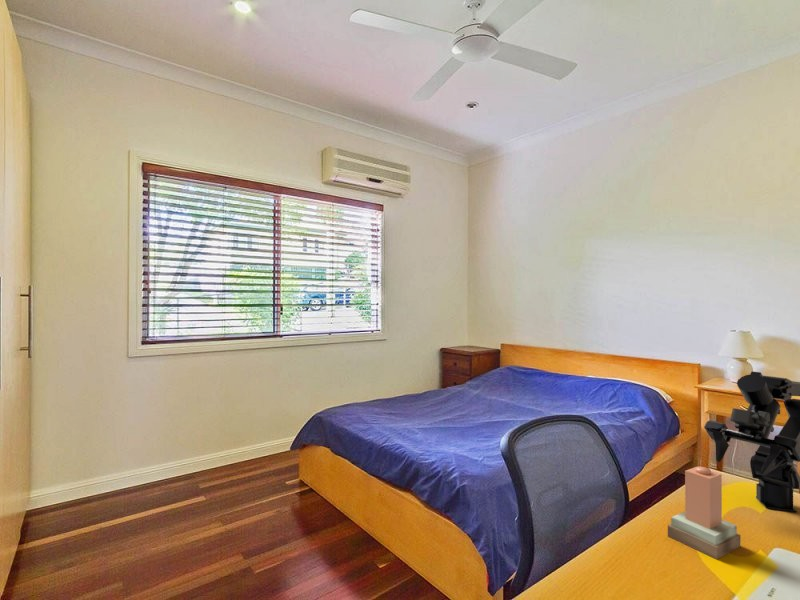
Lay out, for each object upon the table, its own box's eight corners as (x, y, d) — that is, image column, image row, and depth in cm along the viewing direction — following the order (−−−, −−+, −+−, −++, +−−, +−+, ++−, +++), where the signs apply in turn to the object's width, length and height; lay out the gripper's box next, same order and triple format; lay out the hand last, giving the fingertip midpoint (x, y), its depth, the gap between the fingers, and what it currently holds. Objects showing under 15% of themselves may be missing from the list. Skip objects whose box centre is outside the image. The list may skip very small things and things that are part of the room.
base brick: (691, 525, 102) (691, 506, 102) (740, 546, 93) (740, 525, 93) (667, 536, 97) (667, 516, 97) (716, 559, 88) (716, 537, 88)
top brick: (697, 513, 99) (697, 463, 99) (721, 523, 94) (721, 470, 94) (685, 518, 96) (685, 467, 96) (709, 529, 92) (709, 475, 92)
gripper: (707, 390, 114) (685, 437, 108) (798, 404, 97) (776, 461, 92) (722, 415, 117) (701, 462, 112) (812, 433, 101) (792, 489, 96)
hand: (739, 467), depth 103 cm, fingers open, 9 cm apart
